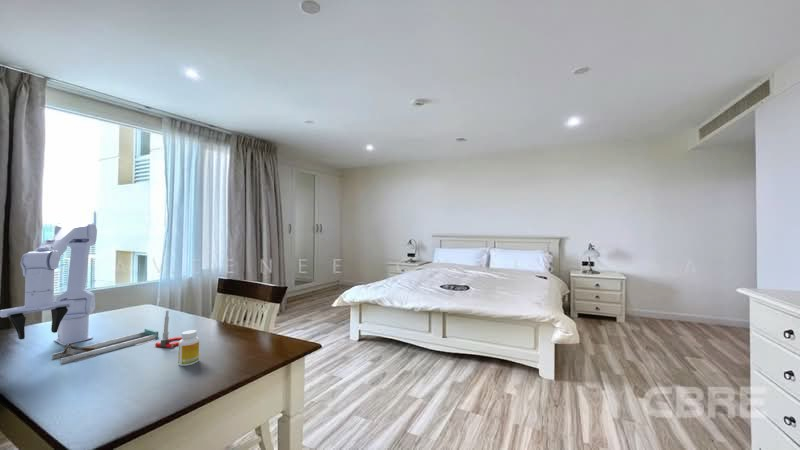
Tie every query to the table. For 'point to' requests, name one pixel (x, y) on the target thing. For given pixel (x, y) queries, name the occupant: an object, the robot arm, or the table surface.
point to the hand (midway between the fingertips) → (38, 335)
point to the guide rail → (147, 332)
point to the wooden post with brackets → (75, 349)
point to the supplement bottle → (188, 348)
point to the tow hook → (165, 340)
